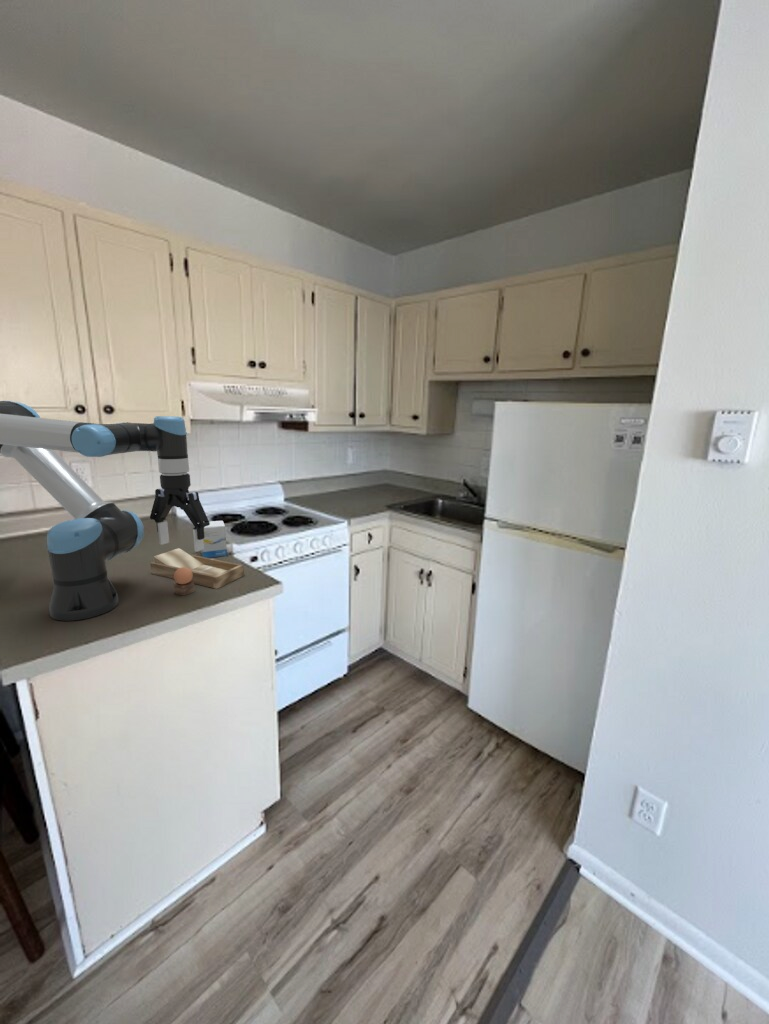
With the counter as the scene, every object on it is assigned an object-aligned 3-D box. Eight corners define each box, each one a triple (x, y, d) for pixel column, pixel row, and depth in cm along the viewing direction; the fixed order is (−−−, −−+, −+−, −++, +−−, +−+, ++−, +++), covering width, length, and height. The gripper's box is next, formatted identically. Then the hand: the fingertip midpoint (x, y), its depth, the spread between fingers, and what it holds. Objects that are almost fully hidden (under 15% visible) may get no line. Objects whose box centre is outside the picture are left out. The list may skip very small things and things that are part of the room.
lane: (216, 589, 129) (215, 571, 127) (151, 573, 139) (149, 557, 138) (244, 576, 140) (243, 559, 138) (181, 562, 150) (180, 546, 149)
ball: (183, 588, 122) (181, 572, 121) (170, 585, 124) (169, 569, 123) (197, 582, 126) (195, 566, 125) (184, 579, 128) (183, 563, 127)
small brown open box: (184, 595, 123) (183, 586, 123) (174, 593, 125) (173, 584, 124) (194, 590, 127) (193, 581, 126) (185, 588, 128) (184, 579, 128)
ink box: (227, 555, 158) (225, 525, 155) (202, 558, 154) (200, 527, 151) (224, 549, 165) (222, 519, 162) (200, 551, 161) (198, 521, 159)
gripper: (219, 475, 116) (224, 549, 121) (154, 468, 126) (161, 537, 131) (198, 478, 110) (204, 556, 114) (130, 471, 119) (139, 544, 124)
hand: (181, 546), depth 123 cm, fingers open, 13 cm apart
